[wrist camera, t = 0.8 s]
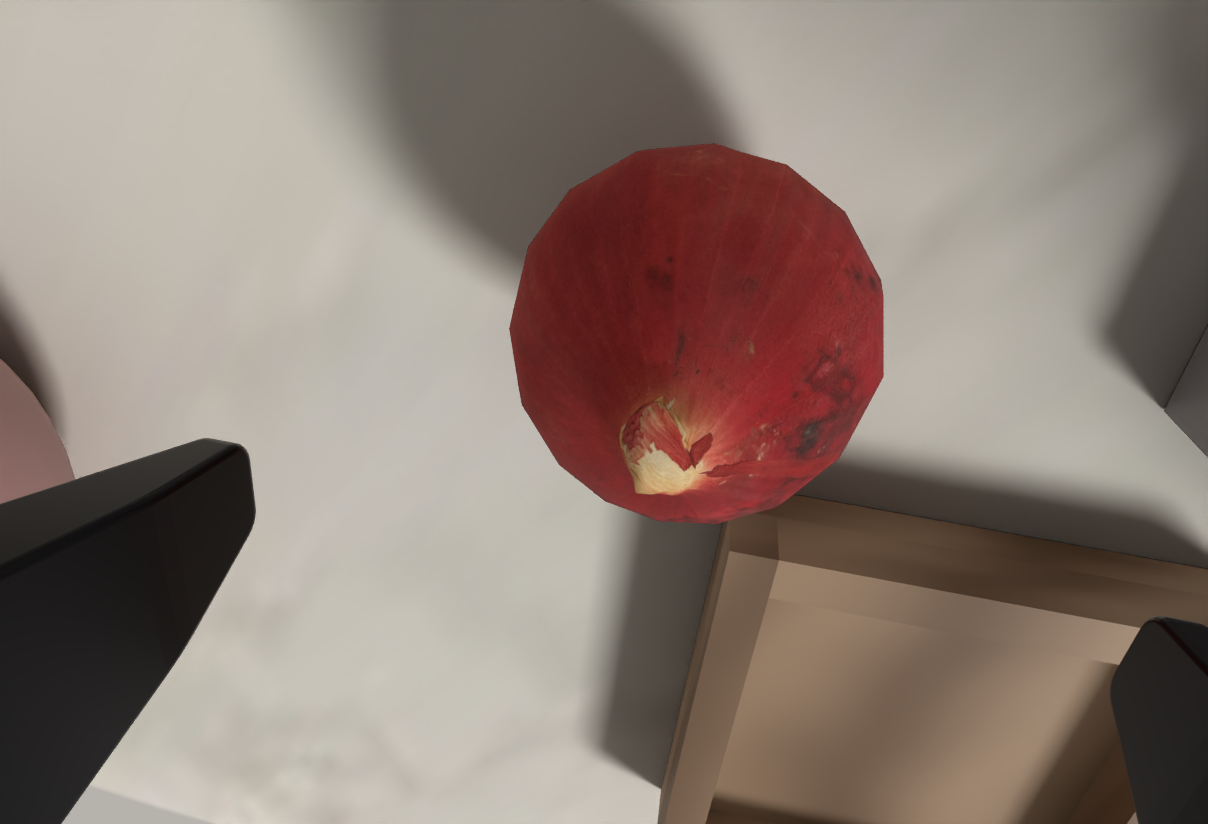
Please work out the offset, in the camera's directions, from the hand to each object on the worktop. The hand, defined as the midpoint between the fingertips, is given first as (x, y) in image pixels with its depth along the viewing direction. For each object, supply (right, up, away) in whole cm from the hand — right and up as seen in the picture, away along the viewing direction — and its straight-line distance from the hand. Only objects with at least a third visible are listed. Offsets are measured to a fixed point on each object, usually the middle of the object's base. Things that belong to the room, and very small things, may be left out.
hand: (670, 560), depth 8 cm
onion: (+1, +5, +8) cm, 10 cm away
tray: (+7, -6, +13) cm, 16 cm away
